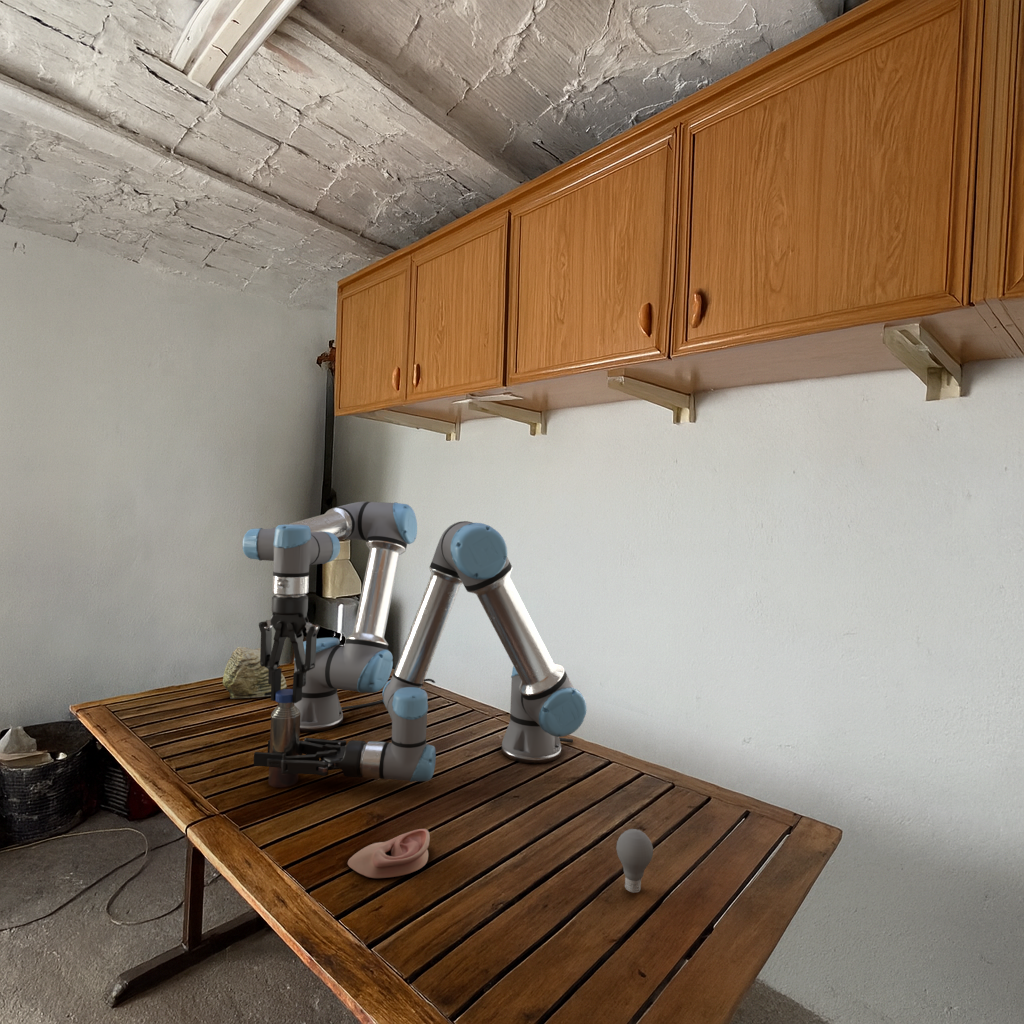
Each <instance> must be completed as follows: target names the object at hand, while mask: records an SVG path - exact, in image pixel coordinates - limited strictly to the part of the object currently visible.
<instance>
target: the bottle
mask: <svg viewBox="0 0 1024 1024" xmlns="http://www.w3.org/2000/svg"><path fill="white" fill-rule="evenodd" d="M300 714H301V713H300V710H299V709H298V708H297V707H296V706H295V705H294V703H292V702H291V703H279V702H277V706H276V707H275V708H274V709H273V711H272V712H271V714H270V732H269V740H270V753H280V754H283V753H286V756H295V755H299V741H301V739H300V738H301V731H300ZM298 781H299V774H288V773H282V768H280V767H268V785H269V786H270V787H273V788H287V787H291V786H293V785H296V784H297V783H298Z"/></svg>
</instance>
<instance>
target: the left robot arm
mask: <svg viewBox="0 0 1024 1024" xmlns="http://www.w3.org/2000/svg"><path fill="white" fill-rule="evenodd" d="M417 535H418V520H417V516H416V513H415V511H414V509H413V507H411V506H410V505H409V504H407V503H400V502H380V501H356V502H351V503H348V504H347V503H346V504H343V505H340V506H336V507H332V508H330V509H328V510H327V511H326V512H325V513H324V514H320V515H316V516H312V517H309V518H305V519H302V520H297V521H294V522H290V523H286V524H279V525H277V526H275V527H271V528H263V527H260V528H251V529H248V530H247V531H246V533H244V535H243V538H242V551H243V554H244V555H245V556H246V557H247V558H249V559H250V560H258V561H267V562H273V571H272V590H271V591H272V594H274V595H273V596H271V613H272V615H271V616H270V619H268V620H267V619H266V620H263V621H260V622H258V628H259V631H260V648H261V650H260V665H261V666H262V667H266V668H267V669H268V670H269V673H268V683H269V684H271V696H270V701H271V702H276V700H275V695H276V692H277V691H279V690H281V673H282V672H283V671H282V670H283V669H282V667H281V668H280V666H281V664H280V662H281V661H280V660H281V658H282V654H283V649H284V645H285V641H286V639H287V638H289V640H290V644H292V651H293V656H294V659H293V660H294V672H293V673H292V674H293V676H292V689H293V700H292V703H294V705H295V706H296V707H297V708H298V709H299V710H300V713H301V714H300V733H316V732H325V731H329V730H332V729H335V728H337V727H339V726H340V725H342V723H343V722H344V714H343V711H344V710H350V709H357V708H364V707H369V706H374V705H378V704H382V703H384V702H383V699H380V700H376V701H372V702H366V703H362V704H361V703H360V704H355V705H348V706H341V702H340V699H339V695H338V690H342V691H350V692H358V693H362V694H364V693H369V694H374V693H378V692H380V691H381V690H383V688H384V686H385V685H386V683H387V682H388V681H389V679H390V676H391V673H392V670H393V666H394V661H393V659H394V657H393V653H392V652H391V651H390V650H389V649H388V647H389V643H388V642H387V640H386V639H385V634H386V629H387V624H388V618H389V613H390V608H391V602H392V597H393V593H394V587H395V582H396V577H397V571H398V566H399V561H400V556H401V555H403V554H404V553H405V552H406V551H407V546H408V545H410V544H414V542H415V541H416V539H417ZM345 540H356V541H366V542H365V545H366V547H367V548H368V550H369V554H368V558H367V563H366V569H365V573H364V577H363V582H362V586H361V587H362V589H361V591H360V595H359V602H358V607H357V611H356V616H355V621H354V626H353V630H352V633H351V634H350V635H348V636H347V637H346V638H345V642H344V645H341V641H340V639H339V638H338V637H318V633H319V630H320V628H321V626H320V625H319V624H313V623H311V622H309V618H308V609H309V596H308V595H307V594H308V593H309V581H310V566H313V565H320V564H322V565H325V564H327V563H331V562H332V561H334V560H336V558H338V556H339V555H340V552H341V543H340V542H341V541H345ZM272 629H273V630H274V636H273V630H272ZM305 629H306V630H305ZM304 630H305V633H306V637H305V640H304V632H303V631H304ZM317 637H318V638H317ZM272 640H273V641H272ZM277 668H278V669H277ZM424 682H425V683H426V682H431V683H433V684H435V683H436V681H435V680H434V679H432V678H425V679H424ZM424 682H423V683H424Z"/></svg>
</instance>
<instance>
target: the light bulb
mask: <svg viewBox="0 0 1024 1024" xmlns="http://www.w3.org/2000/svg"><path fill="white" fill-rule="evenodd" d="M615 849H616V854H617V857H618V859H619V861H620V863H621V865H622V867H623V873H624V874H623V875H624V876H625V878H624V888H625V890H627V891H628V892H630V893H634V894H635V893H639V892H640V891H641V889H642V887H641V886H642V879H643V877H644V875H645V871H646V868H647V867H648V866H649V864H650V863H651V861H652V859H653V855H654V847H653V843H652V841H651V838H649V836H648V835H647V834H646V833H645V832H643V831H642V830H641V829H636V828H629V829H627V830H625V831H623V832H622V833H621V834H620V835H619V837H618V839H617V841H616V847H615Z"/></svg>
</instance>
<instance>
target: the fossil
mask: <svg viewBox="0 0 1024 1024" xmlns="http://www.w3.org/2000/svg"><path fill="white" fill-rule="evenodd" d="M260 650H261V647H258V648H251V647H247V646H246V647H245V646H238V647H237V648H236V649H235V650H233V651H232V653H231V656H230V657H229V659H228V660H227V663H226V666H225V668H224V671H223V675H222V676H223V677H222V685H223V687H224V688H225V690H226V691H228V693H229V698H230V699H250V698H264V697H271V684H269V683H268V673H269V670H268V669H267V668H266V667H262V666H261V665H260ZM278 668H279V667H277V669H278ZM287 687H288V686H287V680H286V678H285V676H284V674H283V673H282V672H281V690H283V689H287Z"/></svg>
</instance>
